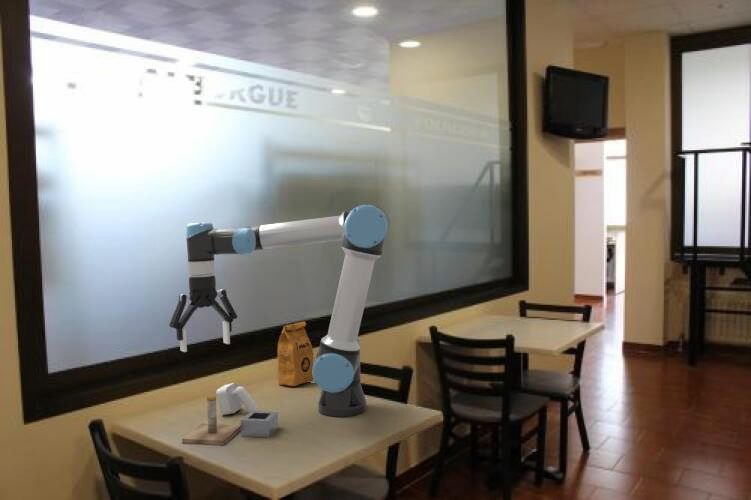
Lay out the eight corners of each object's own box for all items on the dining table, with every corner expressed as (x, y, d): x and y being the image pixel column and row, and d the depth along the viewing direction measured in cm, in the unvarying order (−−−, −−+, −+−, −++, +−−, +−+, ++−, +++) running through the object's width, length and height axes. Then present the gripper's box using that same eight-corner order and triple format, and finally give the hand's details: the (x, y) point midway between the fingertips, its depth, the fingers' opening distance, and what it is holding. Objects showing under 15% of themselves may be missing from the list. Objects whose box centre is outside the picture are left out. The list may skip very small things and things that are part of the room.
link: (278, 427, 179) (277, 411, 178) (268, 437, 171) (268, 421, 171) (251, 426, 180) (251, 410, 180) (241, 435, 172) (240, 420, 172)
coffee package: (318, 381, 226) (317, 321, 225) (293, 389, 216) (292, 327, 215) (299, 377, 232) (297, 319, 231) (274, 385, 223) (272, 324, 221)
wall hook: (254, 416, 187) (245, 384, 187) (223, 422, 189) (215, 390, 189) (264, 407, 195) (256, 377, 195) (234, 414, 197) (226, 383, 197)
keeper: (241, 429, 177) (240, 390, 177) (224, 445, 166) (222, 403, 165) (201, 427, 179) (200, 389, 179) (182, 443, 168) (180, 402, 167)
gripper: (234, 271, 192) (237, 338, 193) (154, 278, 176) (159, 352, 177) (246, 272, 186) (249, 341, 188) (165, 280, 170) (169, 356, 171)
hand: (205, 347), depth 182 cm, fingers open, 13 cm apart
